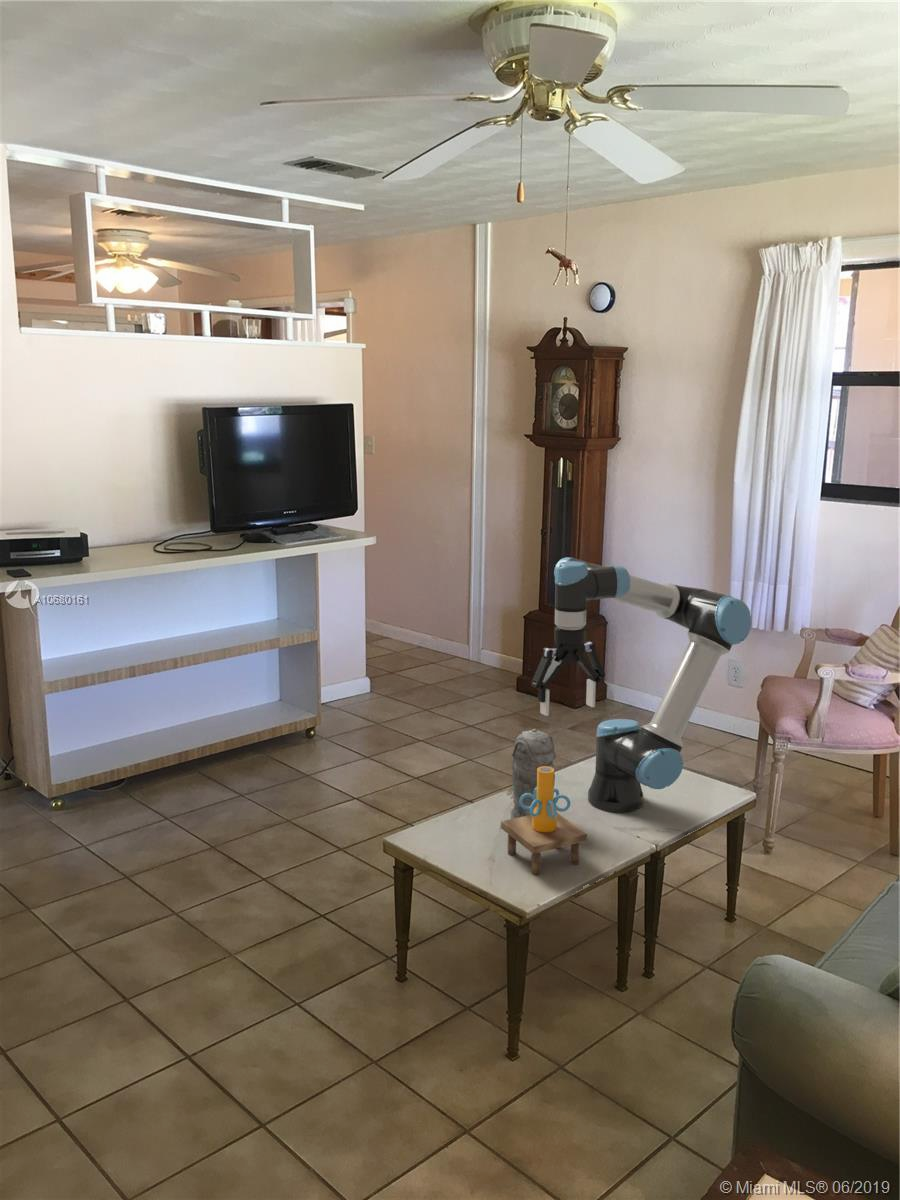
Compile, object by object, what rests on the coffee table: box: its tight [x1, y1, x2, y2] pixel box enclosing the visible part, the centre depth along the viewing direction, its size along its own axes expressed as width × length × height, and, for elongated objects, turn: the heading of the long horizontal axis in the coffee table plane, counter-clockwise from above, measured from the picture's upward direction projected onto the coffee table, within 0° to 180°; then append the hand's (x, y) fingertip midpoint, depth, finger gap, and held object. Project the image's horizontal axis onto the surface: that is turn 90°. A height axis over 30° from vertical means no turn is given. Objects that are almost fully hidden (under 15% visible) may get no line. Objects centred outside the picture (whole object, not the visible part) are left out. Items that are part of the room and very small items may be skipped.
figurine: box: [509, 728, 557, 819], centre depth 252 cm, size 10×14×25 cm
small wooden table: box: [500, 812, 588, 876], centre depth 233 cm, size 15×15×8 cm
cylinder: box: [519, 766, 571, 833], centre depth 230 cm, size 12×10×15 cm
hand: (567, 710), depth 236 cm, fingers open, 13 cm apart
